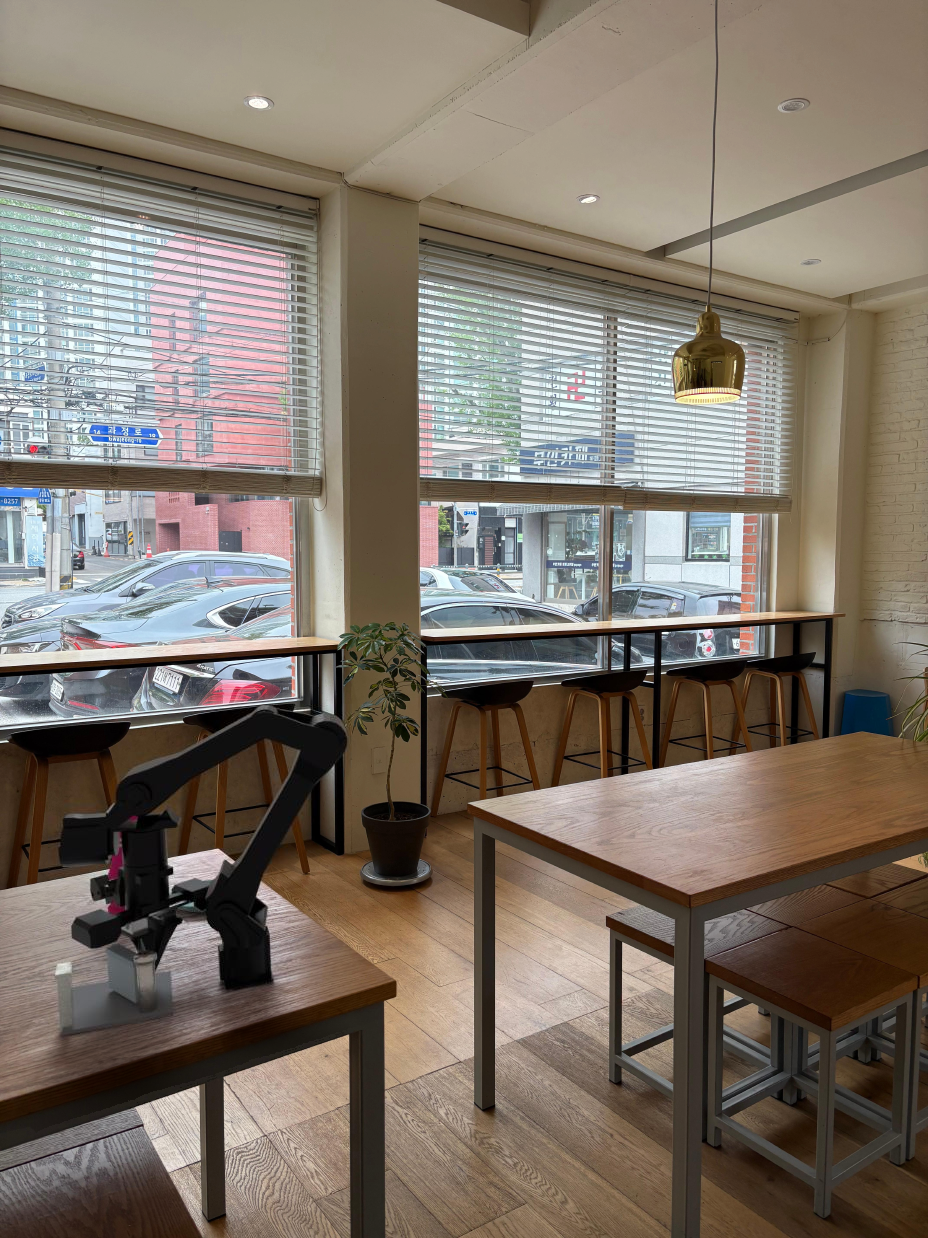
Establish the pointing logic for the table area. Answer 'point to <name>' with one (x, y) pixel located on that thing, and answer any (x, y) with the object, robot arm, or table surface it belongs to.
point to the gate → (122, 971)
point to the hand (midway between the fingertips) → (150, 972)
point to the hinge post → (146, 980)
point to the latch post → (65, 994)
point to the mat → (115, 1006)
